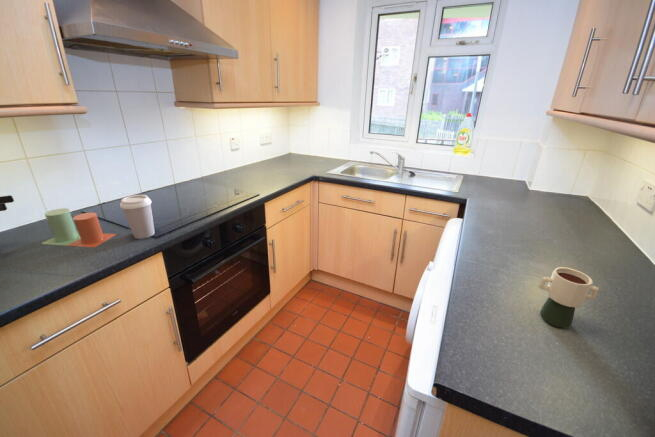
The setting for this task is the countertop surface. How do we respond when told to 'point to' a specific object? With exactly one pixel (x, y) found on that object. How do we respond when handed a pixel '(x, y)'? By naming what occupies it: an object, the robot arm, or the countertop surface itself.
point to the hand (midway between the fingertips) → (9, 202)
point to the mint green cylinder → (61, 224)
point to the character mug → (565, 295)
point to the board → (78, 241)
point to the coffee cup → (139, 215)
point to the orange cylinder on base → (88, 228)
